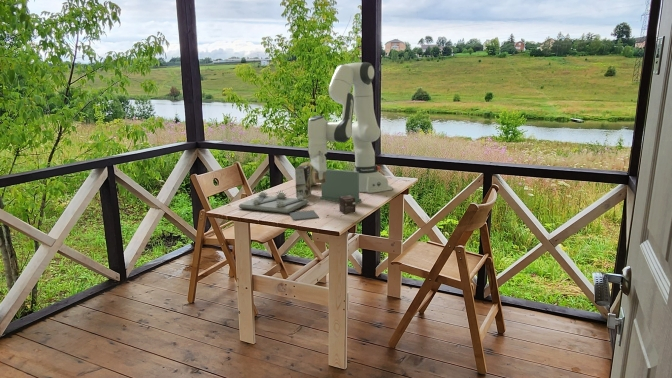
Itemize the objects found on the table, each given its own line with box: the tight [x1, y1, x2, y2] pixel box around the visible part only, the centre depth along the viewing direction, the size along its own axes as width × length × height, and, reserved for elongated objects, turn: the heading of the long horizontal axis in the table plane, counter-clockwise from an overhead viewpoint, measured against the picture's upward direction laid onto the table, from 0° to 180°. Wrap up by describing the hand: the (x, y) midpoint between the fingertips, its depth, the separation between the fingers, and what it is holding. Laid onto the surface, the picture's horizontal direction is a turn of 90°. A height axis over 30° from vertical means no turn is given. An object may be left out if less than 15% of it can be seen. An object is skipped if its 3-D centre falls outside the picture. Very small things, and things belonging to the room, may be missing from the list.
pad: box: [288, 210, 320, 221], centre depth 229 cm, size 12×12×1 cm
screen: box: [319, 168, 362, 205], centre depth 254 cm, size 22×6×16 cm, turn 60°
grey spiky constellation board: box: [238, 190, 310, 214], centre depth 246 cm, size 30×22×7 cm
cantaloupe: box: [299, 161, 317, 187], centre depth 291 cm, size 15×15×15 cm
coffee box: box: [294, 165, 312, 198], centre depth 267 cm, size 9×6×16 cm
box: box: [338, 196, 356, 215], centre depth 233 cm, size 6×6×7 cm
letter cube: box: [313, 171, 325, 184], centre depth 236 cm, size 5×5×5 cm
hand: (319, 178), depth 236 cm, fingers closed on letter cube, 5 cm apart
